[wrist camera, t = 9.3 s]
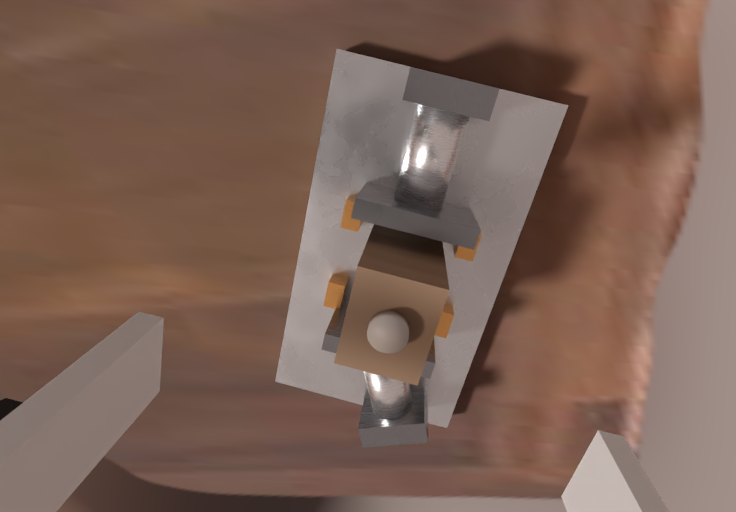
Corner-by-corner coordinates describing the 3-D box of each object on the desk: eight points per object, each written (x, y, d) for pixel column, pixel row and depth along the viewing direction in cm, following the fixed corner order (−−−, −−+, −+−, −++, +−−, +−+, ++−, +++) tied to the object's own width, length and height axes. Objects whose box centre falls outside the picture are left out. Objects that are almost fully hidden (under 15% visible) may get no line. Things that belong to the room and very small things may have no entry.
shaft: (350, 336, 27) (341, 365, 24) (412, 328, 27) (411, 357, 24) (369, 412, 29) (362, 447, 26) (427, 406, 29) (428, 442, 26)
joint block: (374, 222, 25) (355, 270, 18) (442, 240, 25) (450, 296, 17) (355, 298, 26) (331, 370, 19) (418, 315, 26) (417, 393, 19)
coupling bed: (340, 51, 23) (318, 37, 18) (562, 105, 22) (601, 106, 18) (279, 372, 30) (252, 424, 25) (446, 417, 30) (450, 479, 25)
